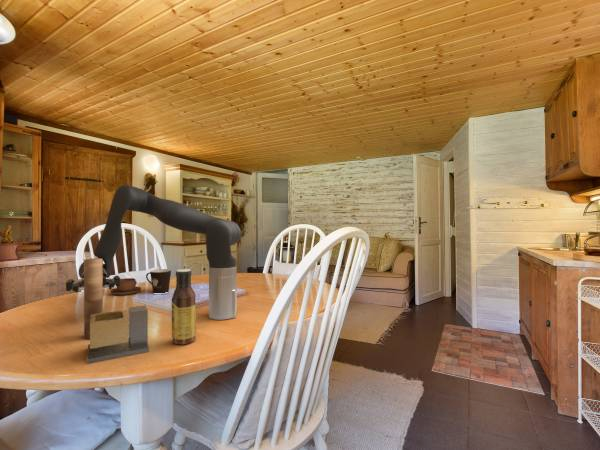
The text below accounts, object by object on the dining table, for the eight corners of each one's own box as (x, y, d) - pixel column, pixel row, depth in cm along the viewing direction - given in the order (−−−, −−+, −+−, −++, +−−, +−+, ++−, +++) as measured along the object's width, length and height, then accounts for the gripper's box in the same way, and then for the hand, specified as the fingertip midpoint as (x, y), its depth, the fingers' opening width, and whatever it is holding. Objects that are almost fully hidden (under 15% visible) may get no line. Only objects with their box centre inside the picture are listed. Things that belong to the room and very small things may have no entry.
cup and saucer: (118, 290, 146) (118, 277, 146) (145, 290, 147) (145, 277, 147) (105, 297, 134) (104, 282, 134) (134, 296, 135) (134, 282, 135)
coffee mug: (174, 292, 142) (174, 270, 142) (155, 296, 136) (155, 273, 136) (163, 288, 150) (163, 267, 150) (144, 291, 144) (144, 269, 144)
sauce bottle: (177, 336, 91) (177, 267, 90) (199, 337, 90) (199, 267, 90) (167, 345, 84) (167, 271, 84) (190, 346, 84) (190, 271, 84)
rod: (105, 333, 92) (105, 258, 92) (97, 339, 88) (97, 260, 87) (89, 334, 92) (89, 258, 91) (80, 339, 87) (80, 260, 87)
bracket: (88, 348, 82) (88, 309, 82) (144, 338, 89) (144, 303, 89) (87, 363, 74) (87, 320, 73) (148, 351, 80) (149, 312, 80)
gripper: (68, 268, 104) (64, 276, 91) (118, 265, 112) (121, 272, 98) (69, 291, 105) (64, 303, 91) (118, 287, 112) (121, 296, 98)
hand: (93, 287), depth 95 cm, fingers open, 8 cm apart
